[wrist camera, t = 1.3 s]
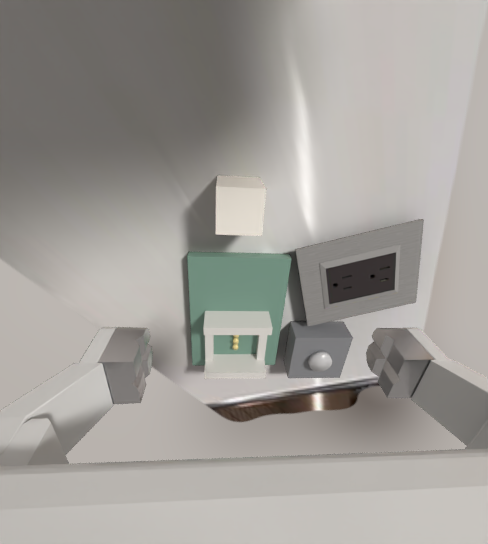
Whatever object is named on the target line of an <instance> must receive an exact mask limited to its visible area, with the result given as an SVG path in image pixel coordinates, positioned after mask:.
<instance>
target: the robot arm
mask: <svg viewBox="0 0 488 544" xmlns="http://www.w3.org/2000/svg"><path fill="white" fill-rule="evenodd" d="M372 338H373V340H374V342H373V343H371V344H370V345H369V346H368V349H367V352H366V357H367V363H368V366H369V368H370V370H371V371H372V372H373V373H374V374H376V375H377V376H379V378H378V383H379V385H380V386H381V388H382V390H383V391H384V393H385V395H386V396H387V398H411V400H412V401H413V402H415V403H416V404H417V405H418V406H419V407H421V408H422V409H423V410H424V411H426V412H427V413H428V414H429V415H430V416H431V417H433V418H434V419H435V420H436V421H438V422H439V423H440V424H441V425H442V426H444V427H445V428H446V429H447V430H448V431H450V432H451V433H452V434H453V435H455V436H456V437H457V438H458V439H459V440H460V441H462V442H463V443H464V444H465V445H467V447H466V448H465V449H459V450H433V451H432V450H431V451H406V452H379V453H352V454H327V455H298V456H273V457H245V458H244V457H243V458H217V459H216V458H215V459H188V460H161V461H136V462H135V461H134V462H107V463H78V464H69V462H68V460H67V458H66V456H65V455H66V454H67V453H68V452H69V451H70V450H71V449H72V448H73V447H74V446H75V445H76V444H77V443H78V442H79V440H81V438H83V436H85V434H86V433H87V432H88V431H89V430H90V429H91V428H92V427H93V426H94V425H95V424H96V423H97V422H98V421H99V420H100V419H101V418H102V417H103V416H104V415H105V414H106V413H107V412H108V411H109V410H110V409H111V408H112V407H113V404H128V403H141V400H142V397H143V394H144V390H145V387H146V382H145V378H146V377H147V376H148V375H149V374H150V370H151V366H152V346H150V345H149V344H148V343H149V340H150V332H149V329H148V328H133V327H118V328H117V327H102V328H101V329H99V331H98V332H97V334H96V336H95V337H94V339H93V340H92V342H91V344H90V345H89V347H88V349H87V350H86V352H85V354H84V355H83V357H82V358H81V360H80V362H79V363H74V364H72V365H70V366H69V367H67V368H66V369H64V370H62V371H61V372H60V373H58V374H56V375H55V376H53V377H51V378H50V379H49V380H47V381H45V382H44V383H42V384H41V385H39V386H37V387H36V388H34V389H33V390H31V391H30V392H28V393H26V394H25V395H23V396H22V397H20V398H19V399H17V400H15V401H14V402H12V403H11V404H9V405H8V406H6V407H5V408H3V409H1V410H0V544H488V378H487V377H486V376H483V375H482V374H480V373H478V372H476V371H474V370H472V369H470V368H468V367H467V366H465V365H463V364H461V363H459V362H457V361H455V360H450V359H449V358H448V357H447V356H446V355H445V354H444V353H443V352H442V351H441V350H440V349H439V348H438V347H437V346H436V345H435V344H434V343H433V342H432V341H431V340H430V339H429V338H428V336H426V334H425V333H424V332H423V331H422V330H420V329H418V328H377V329H376V330H375V331H374V332H373V335H372Z"/></svg>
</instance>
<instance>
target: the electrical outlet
mask: <svg viewBox="0 0 488 544" xmlns="http://www.w3.org/2000/svg"><path fill="white" fill-rule="evenodd" d="M423 222H424V220H423V219H419V220H415V221H411V222H407V223H402V224H398V225H394V226H390V227H386V228H382V229H378V230H373V231H369V232H365V233H361V234H357V235H353V236H348V237H344V238H340V239H336V240H332V241H328V242H324V243H319V244H315V245H311V246H307V247H303V248H299V249H295V252H296V258H297V264H298V270H299V277H300V283H301V289H302V296H303V302H304V308H305V315H306V321H307V326H312V325H317V324H321V323H326V322H330V321H335V320H339V319H343V318H348V317H352V316H357V315H361V314H366V313H370V312H375V311H379V310H384V309H388V308H393V307H397V306H402V305H406V304H411V303H415V302H416V297H417V287H418V276H419V265H420V254H421V244H422V233H423Z"/></svg>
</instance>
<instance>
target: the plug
mask: <svg viewBox="0 0 488 544" xmlns="http://www.w3.org/2000/svg"><path fill="white" fill-rule="evenodd" d="M265 199H266V187H265V186H264V184H263V182H262V181H261V179H260V177H243V176H222V175H217V182H216V235H246V236H262V230H263V220H264V209H265Z"/></svg>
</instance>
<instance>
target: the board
mask: <svg viewBox="0 0 488 544" xmlns="http://www.w3.org/2000/svg"><path fill="white" fill-rule="evenodd" d="M187 260H188V280H189V301H190V321H191V342H192V363H193V365H205V371H204V379H239V378H266V367H265V365H275V361H276V354H277V348H278V342H279V335H280V329H281V323H282V316H283V310H284V304H285V297H286V291H287V285H288V278H289V272H290V266H291V257H290V255H289V254H264V253H224V252H188V256H187Z"/></svg>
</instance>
